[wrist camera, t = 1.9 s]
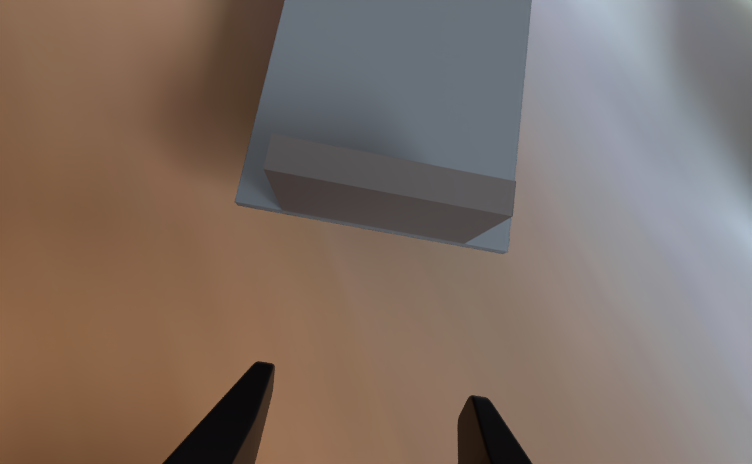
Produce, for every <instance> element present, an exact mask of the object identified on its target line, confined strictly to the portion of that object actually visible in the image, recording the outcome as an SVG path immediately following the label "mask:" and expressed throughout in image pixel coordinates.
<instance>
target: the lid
mask: <svg viewBox="0 0 752 464" xmlns="http://www.w3.org/2000/svg"><path fill="white" fill-rule="evenodd" d="M531 2H532V0H285V1H284V5H283V9H282V13H281V17H280V21H279V26H278V30H277V34H276V38H275V42H274V46H273V50H272V54H271V58H270V62H269V66H268V70H267V74H266V78H265V82H264V86H263V90H262V94H261V98H260V102H259V106H258V110H257V114H256V118H255V122H254V126H253V130H252V134H251V138H250V142H249V146H248V150H247V154H246V158H245V162H244V166H243V170H242V174H241V178H240V182H239V186H238V190H237V195H236V199H235V203H236V204H237V205H238V206H243V207H249V208H254V209H260V210H265V211H271V212H276V213H282V214H287V215H293V216H298V217H304V218H309V219H315V220H320V221H325V222H331V223H336V224H342V225H347V226H353V227H358V228H364V229H369V230H375V231H380V232H386V233H391V234H396V235H402V236H407V237H413V238H418V239H424V240H429V241H435V242H440V243H446V244H451V245H457V246H462V247H467V248H473V249H478V250H484V251H489V252H495V253H500V254H504V253H506V252H508V247H509V237H510V226H511V217H512V216H513V208H514V198H515V187H516V181H515V173H516V162H517V151H518V141H519V130H520V119H521V109H522V98H523V87H524V77H525V66H526V55H527V45H528V34H529V23H530V13H531Z"/></svg>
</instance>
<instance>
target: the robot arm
mask: <svg viewBox="0 0 752 464" xmlns="http://www.w3.org/2000/svg"><path fill="white" fill-rule="evenodd" d="M274 372H275V366H274V364H272V363H267V362H260V361H258V362H255V363H254V364H253V365H252V366H251V367H250V368H249V369H248V370H247V372H246V373H245V374H244V375H243V376H242V377H241V378H240V379H239V380H238V381H237V383H236V384H235V385H234V386H233V387H232V388H231V389H230V390H229V391H228V392H227V393H226V395H225V396H224V397H223V398H222V399H221V400H220V401H219V402H218V403H217V404H216V405H215V407H214V408H213V409H212V410H211V411H210V412H209V413H208V414H207V415H206V416H205V418H204V419H203V420H202V421H201V422H200V423H199V424H198V425H197V426H196V427H195V428H194V430H193V431H192V432H191V433H190V434H189V435H188V436H187V437H186V438H185V439H184V441H183V442H182V443H181V444H180V445H179V446H178V447H177V448H176V449H175V450H174V451H173V453H172V454H171V455H170V456H169V457H168V458H167V459H166V460H165V461H164V462H163V463H162V464H255V460H256V457H257V453H258V449H259V445H260V441H261V437H262V433H263V429H264V425H265V421H266V417H267V413H268V409H269V405H270V401H271V397H272V392H273V383H274ZM458 464H532V462H531V461H530V459H529V458H528V456H527V455H526V453H525V452H524V450H523V449H522V447H521V446H520V444H519V443H518V441H517V440H516V438H515V437H514V435H513V434H512V432H511V431H510V429H509V428H508V426H507V425H506V423H505V422H504V420H503V419H502V417H501V416H500V414H499V413H498V411H497V410H496V408H495V407H494V405H493V404H492V402H491V401H490V400H489V399H488V398H486V397H481V396H475V395H471V396H470V397H469V398H468V399H467V401H466V403H465V405H464V407H463V409H462V411H461V413H460V415H459V418H458Z"/></svg>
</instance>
